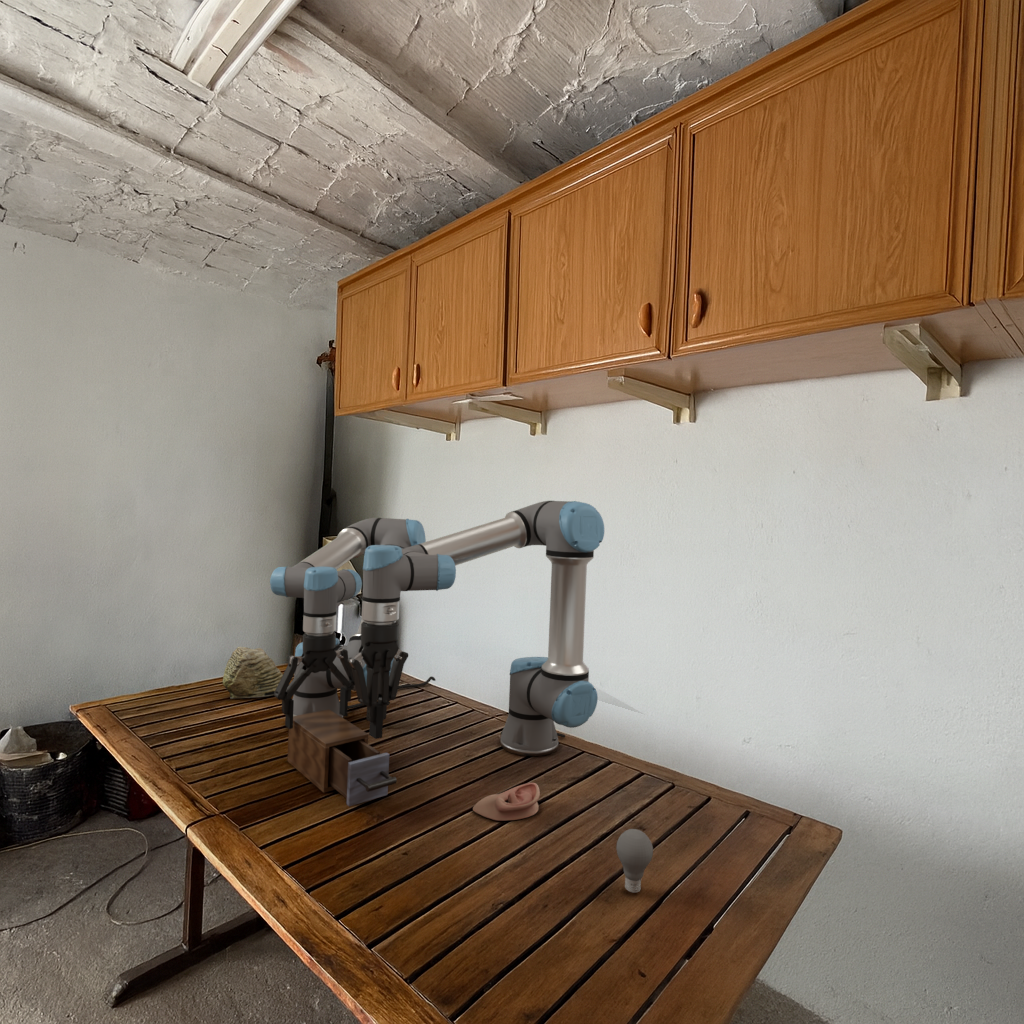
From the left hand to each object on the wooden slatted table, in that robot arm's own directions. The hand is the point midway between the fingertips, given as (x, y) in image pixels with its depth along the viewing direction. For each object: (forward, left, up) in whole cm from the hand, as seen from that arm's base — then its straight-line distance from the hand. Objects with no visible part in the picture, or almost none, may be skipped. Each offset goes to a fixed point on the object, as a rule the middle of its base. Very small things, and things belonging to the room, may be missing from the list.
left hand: (317, 720), depth 151 cm
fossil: (-15, -55, -10) cm, 58 cm away
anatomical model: (-14, +48, -10) cm, 51 cm away
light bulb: (-6, +81, -10) cm, 82 cm away
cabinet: (+1, +6, -10) cm, 12 cm away
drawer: (+4, +20, -9) cm, 22 cm away
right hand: (+5, +28, +5) cm, 29 cm away
